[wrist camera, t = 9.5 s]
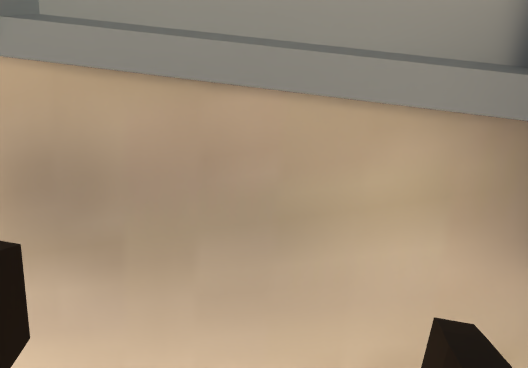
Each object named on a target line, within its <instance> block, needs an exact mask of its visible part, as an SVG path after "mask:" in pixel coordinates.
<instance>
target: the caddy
mask: <svg viewBox="0 0 528 368" xmlns="http://www.w3.org/2000/svg"><path fill="white" fill-rule="evenodd" d="M0 56H3V57H11V58H19V59H28V60H36V61H44V62H52V63H60V64H68V65H76V66H84V67H93V68H101V69H109V70H117V71H125V72H133V73H141V74H149V75H158V76H166V77H174V78H182V79H190V80H198V81H206V82H214V83H223V84H231V85H239V86H247V87H255V88H263V89H271V90H279V91H288V92H296V93H304V94H312V95H320V96H328V97H336V98H344V99H353V100H361V101H369V102H377V103H385V104H393V105H401V106H409V107H418V108H426V109H434V110H442V111H450V112H458V113H466V114H474V115H483V116H491V117H499V118H507V119H515V120H523V121H528V0H0Z"/></svg>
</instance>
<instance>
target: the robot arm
mask: <svg viewBox="0 0 528 368" xmlns="http://www.w3.org/2000/svg"><path fill="white" fill-rule="evenodd" d="M29 339H30V332H29V322H28V313H27V303H26V293H25V283H24V273H23V263H22V253H21V244H16V243H10V242H4V241H0V368H11V366H12V365H13V363H14V362H15V360H16V359H17V357H18V356H19V354H20V353H21V351H22V350H23V348H24V347H25V345H26V344H27V342H28V341H29ZM421 368H512V367H511V366H510V364H509V363H508V362H507V361H506V360H505V359H504V358H503V356H502V355H501V354H500V353H499V352H498V351H497V349H496V348H495V347H494V346H493V345H492V344H491V343H490V341H489V340H488V339H487V338H486V337H485V336H484V335H483V334H482V333H481V331H480V330H479V329H478V328H477V327H476V326H475V325H474V324H468V323H463V322H457V321H451V320H446V319H440V318H434V320H433V324H432V328H431V332H430V336H429V339H428V343H427V347H426V351H425V355H424V359H423V363H422V367H421Z"/></svg>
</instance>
